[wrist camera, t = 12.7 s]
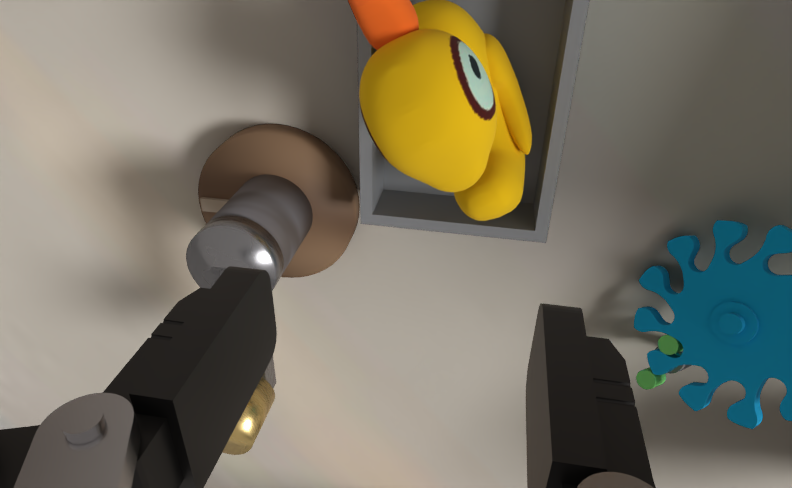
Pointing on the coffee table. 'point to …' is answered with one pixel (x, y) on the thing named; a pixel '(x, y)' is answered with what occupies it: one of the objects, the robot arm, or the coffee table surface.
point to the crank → (206, 262)
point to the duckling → (444, 103)
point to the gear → (723, 322)
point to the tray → (547, 110)
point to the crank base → (304, 172)
